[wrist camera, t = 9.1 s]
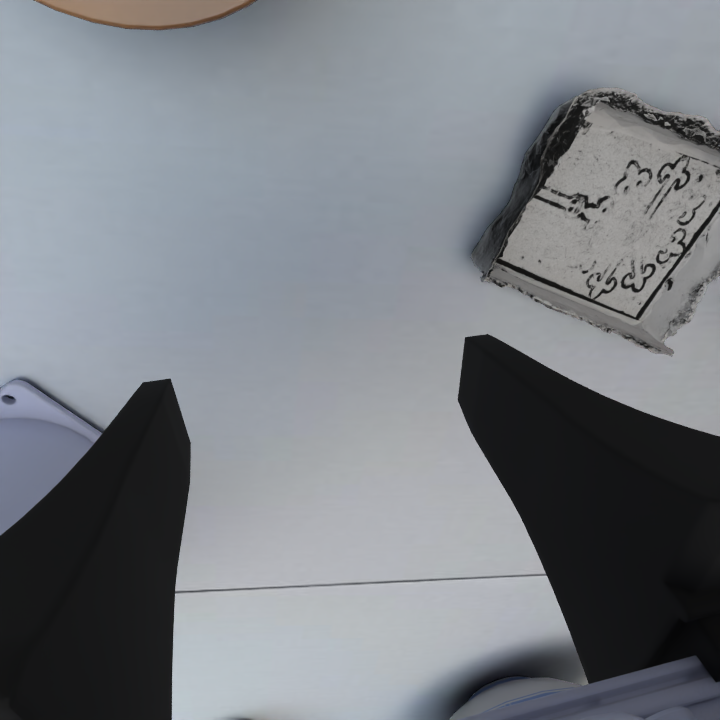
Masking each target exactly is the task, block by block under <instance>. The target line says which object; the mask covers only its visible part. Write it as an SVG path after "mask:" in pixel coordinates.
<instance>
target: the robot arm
mask: <svg viewBox="0 0 720 720" xmlns="http://www.w3.org/2000/svg"><path fill="white" fill-rule="evenodd" d="M6 395H10V396H13V397H14V398H15V399H10V398H8V397H7V396H6ZM458 402H459V404H460V407H461V409H462V412H463V414H464V417H465V419H466V421H467V424H468V426H469V428H470V431H471V433H472V434H473V436H474V438H475V440H476V441H477V443H478V445H479V447H480V448H481V450H482V452H483V453H484V455H485V457H486V458H487V460H488V462H489V463H490V465H491V467H492V468H493V470H494V472H495V473H496V475H497V477H498V478H499V480H500V482H501V483H502V485H503V487H504V488H505V490H506V492H507V493H508V495H509V497H510V498H511V500H512V502H513V504H514V506H515V507H516V509H517V511H518V513H519V515H520V517H521V519H522V521H523V523H524V525H525V527H526V529H527V532H528V534H529V536H530V538H531V540H532V542H533V545H534V547H535V549H536V551H537V553H538V556H539V558H540V560H541V563H542V565H543V567H544V570H545V572H546V574H547V577H548V579H549V581H550V584H551V586H552V588H553V591H554V593H555V596H556V598H557V601H558V603H559V606H560V608H561V611H562V613H563V616H564V618H565V621H566V623H567V626H568V628H569V631H570V634H571V636H572V639H573V642H574V644H575V647H576V650H577V653H578V655H579V658H580V661H581V664H582V666H583V669H584V672H585V675H586V677H587V680H588V683H589V684H587V685H584V686H580V687H576V688H573V689H569V690H565V691H562V692H558V693H554V694H550V695H547V696H543V697H539V698H536V699H532V700H528V701H524V702H521V703H517V704H513V705H510V706H506V707H502V708H499V709H495V710H491V711H487V712H484V713H480V714H476V715H473V716H469V717H465V718H461V719H458V720H720V437H719V436H715V435H712V434H708V433H705V432H702V431H698V430H695V429H691V428H688V427H685V426H682V425H679V424H676V423H673V422H670V421H667V420H664V419H661V418H658V417H655V416H653V415H650V414H647V413H644V412H642V411H639V410H637V409H634V408H632V407H629V406H627V405H624V404H622V403H620V402H617V401H615V400H612V399H610V398H608V397H605V396H603V395H601V394H599V393H597V392H595V391H593V390H591V389H588V388H586V387H584V386H582V385H580V384H578V383H576V382H574V381H572V380H570V379H568V378H567V377H565V376H563V375H561V374H559V373H557V372H555V371H553V370H552V369H550V368H548V367H546V366H544V365H543V364H541V363H539V362H537V361H536V360H534V359H532V358H530V357H529V356H527V355H525V354H523V353H522V352H520V351H518V350H516V349H515V348H513V347H511V346H509V345H508V344H506V343H504V342H502V341H500V340H498V339H497V338H495V337H493V336H490V335H488V334H486V335H479V336H472V337H465V343H464V352H463V360H462V369H461V377H460V386H459V394H458ZM190 458H191V443H190V440H189V436H188V433H187V430H186V427H185V424H184V420H183V417H182V414H181V411H180V407H179V404H178V401H177V398H176V395H175V391H174V388H173V385H172V382H171V379H164V380H157V381H150V382H143V383H142V384H141V386H140V387H139V388H138V389H137V390H136V392H135V393H134V394H133V395H132V397H131V398H130V399H129V401H128V402H127V403H126V404H125V406H124V407H123V408H122V410H121V411H120V412H119V413H118V415H117V416H116V417H115V419H114V420H113V421H112V422H111V424H110V425H109V426H108V427H107V429H106V430H105V431H104V432H103V433H101V432H100V431H98V430H97V429H95V428H94V427H92V426H91V425H89V424H88V423H86V422H85V421H83V420H82V419H80V418H79V417H77V416H76V415H74V414H73V413H71V412H70V411H69V410H67V409H66V408H64V407H63V406H61V405H60V404H58V403H57V402H55V401H54V400H52V399H51V398H49V397H48V396H46V395H45V394H43V393H42V392H40V391H39V390H38V389H36V388H35V387H33V386H32V385H30V384H29V383H27V382H25V381H21V380H13V381H11V382H9V383H7V384H6V385H5V386H3V387H2V388H0V720H172V658H173V625H174V602H175V584H176V575H177V566H178V560H179V553H180V546H181V540H182V533H183V527H184V520H185V513H186V506H187V500H188V493H189V485H190Z"/></svg>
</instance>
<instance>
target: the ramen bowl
mask: <svg viewBox="0 0 720 720" xmlns="http://www.w3.org/2000/svg"><path fill="white" fill-rule="evenodd" d="M580 686H582V685H579V684H575V683H572V682H568V681H564V680H559V679H554V678H528V677H523V676H512V677H506V678H503V679H500V680H496V681H494V682H492V683H489V684H487V685H485V686H483V687H482V688H480V689H479V690H478V691H476V692H475V693H474V694H473V695H472V696H471V697H470V698H469V700H468V702H467V703H466V704H464V705H463V706H462V707H461V708H460V709H459V710H458V711H456V712H455V713H454V714H453V716H452V717H451V718H450V719H449V720H458V719H461V718H465V717H469V716H473V715H476V714H480V713H484V712H487V711H491V710H495V709H499V708H502V707H506V706H510V705H513V704H517V703H521V702H524V701H528V700H532V699H536V698H539V697H543V696H547V695H550V694H554V693H558V692H562V691H565V690H569V689H573V688H576V687H580Z"/></svg>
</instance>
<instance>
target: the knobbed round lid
mask: <svg viewBox="0 0 720 720" xmlns="http://www.w3.org/2000/svg"><path fill="white" fill-rule="evenodd" d="M34 1H36V2H39V3H41V4H43V5H45V6H47V7H49V8H52V9H54V10H56V11H59V12H62V13H65V14H68V15H71V16H74V17H77V18H80V19H83V20H87V21H90V22H93V23H98V24H103V25H109V26H114V27H119V28H125V29H140V30H168V29H177V28H187V27H194V26H198V25H201V24H205V23H209V22H212V21H216V20H220V19H222V18H225V17H227V16H229V15H231V14H233V13H235V12H238V11H240V10H242V9H244V8H246V7H248V6H250V5H251V4H253V3H254V2H256V1H257V0H34Z"/></svg>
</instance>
